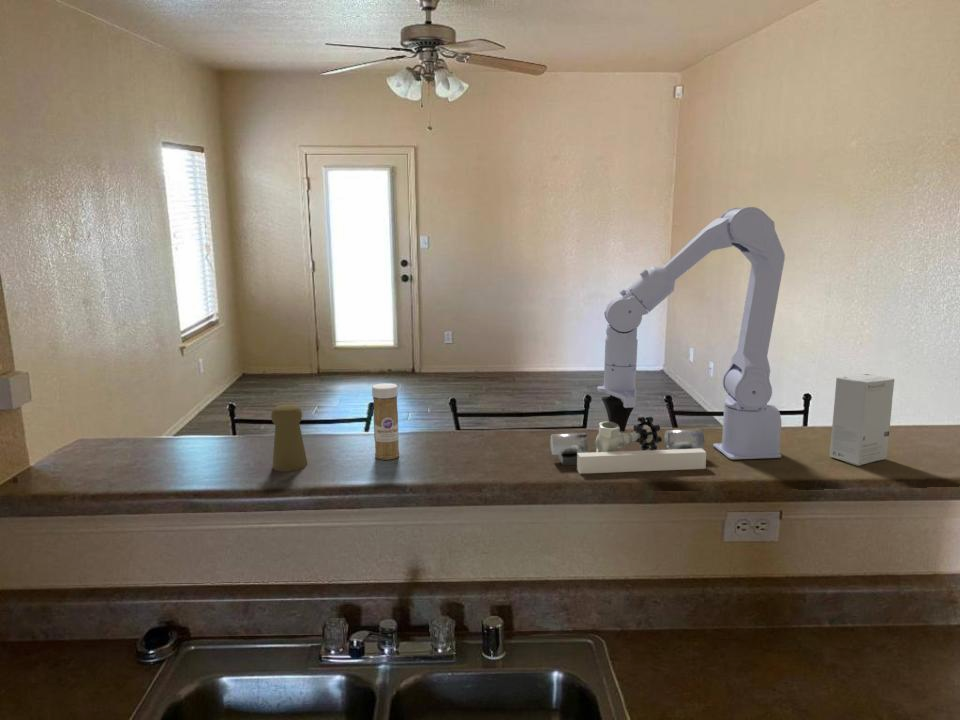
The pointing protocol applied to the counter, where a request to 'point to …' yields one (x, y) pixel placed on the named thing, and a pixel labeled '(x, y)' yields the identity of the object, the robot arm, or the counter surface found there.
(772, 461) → the counter surface
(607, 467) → the bar
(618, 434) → the valve
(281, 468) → the cork
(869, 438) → the skincare box
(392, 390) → the sprinkles bottle
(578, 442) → the pipe stubs
